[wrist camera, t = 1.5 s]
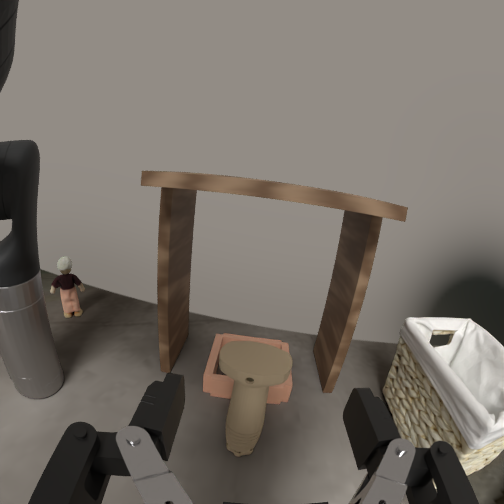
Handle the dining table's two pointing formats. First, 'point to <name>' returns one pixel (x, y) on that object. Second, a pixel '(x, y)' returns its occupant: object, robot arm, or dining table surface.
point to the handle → (250, 389)
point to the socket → (224, 384)
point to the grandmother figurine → (68, 288)
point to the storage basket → (449, 389)
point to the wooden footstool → (356, 207)
